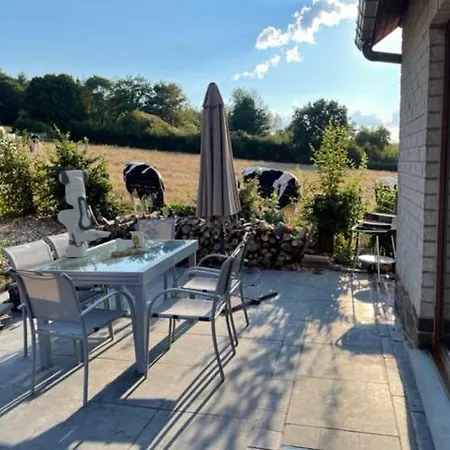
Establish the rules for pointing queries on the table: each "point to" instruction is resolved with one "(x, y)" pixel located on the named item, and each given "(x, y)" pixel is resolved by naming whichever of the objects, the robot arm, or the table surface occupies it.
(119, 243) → the fader tab
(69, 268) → the table surface
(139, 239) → the pitcher
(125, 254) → the fader track
